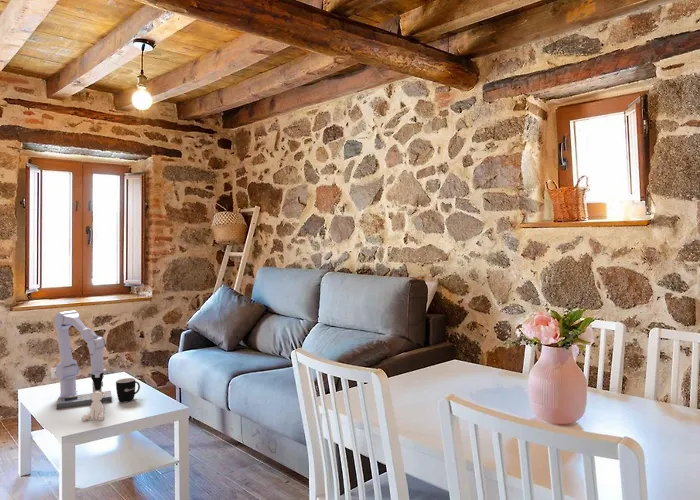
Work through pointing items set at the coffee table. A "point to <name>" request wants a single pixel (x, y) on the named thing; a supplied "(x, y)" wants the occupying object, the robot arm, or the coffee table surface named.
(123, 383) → the mug
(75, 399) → the panel
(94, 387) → the plug
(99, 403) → the seated beast figurine
